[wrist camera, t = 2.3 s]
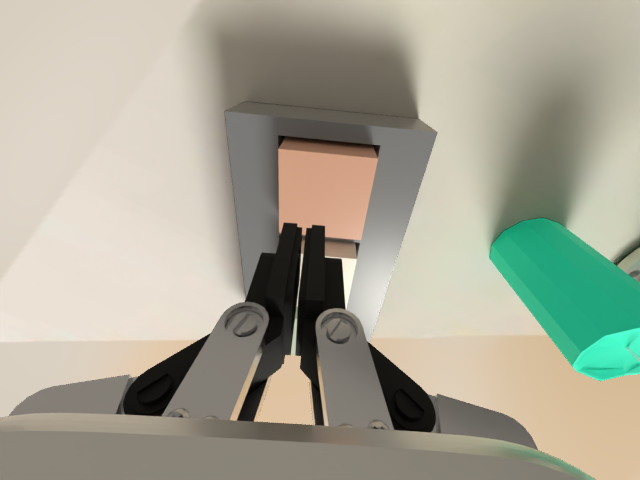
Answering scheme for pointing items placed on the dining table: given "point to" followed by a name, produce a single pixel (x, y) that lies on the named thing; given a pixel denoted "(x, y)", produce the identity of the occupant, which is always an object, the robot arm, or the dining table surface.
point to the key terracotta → (325, 185)
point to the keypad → (385, 200)
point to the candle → (573, 296)
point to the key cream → (343, 252)
